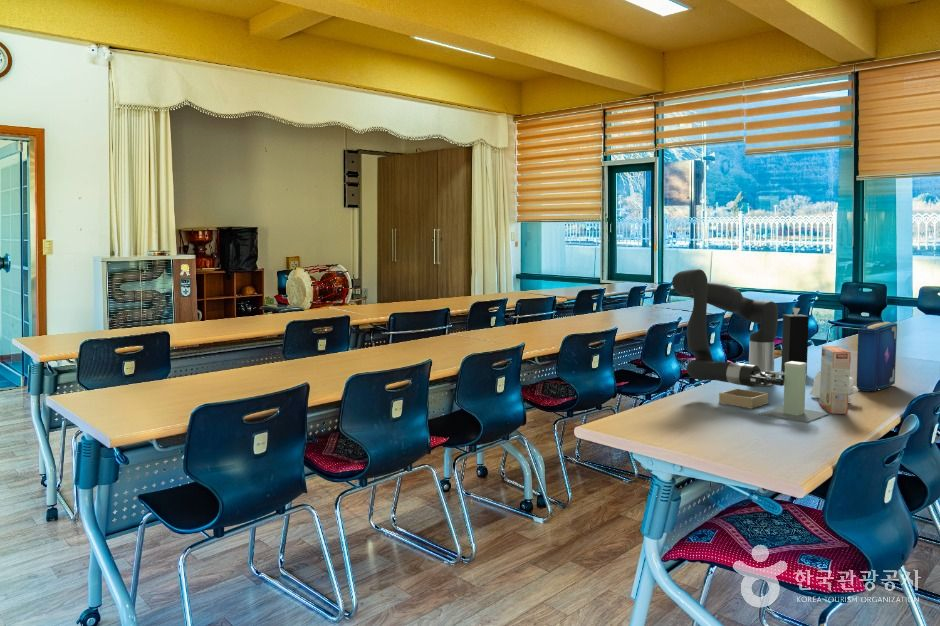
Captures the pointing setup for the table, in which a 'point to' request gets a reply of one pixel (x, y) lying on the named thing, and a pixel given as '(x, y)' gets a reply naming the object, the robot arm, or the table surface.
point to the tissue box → (794, 338)
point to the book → (876, 356)
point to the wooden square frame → (743, 398)
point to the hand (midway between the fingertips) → (789, 380)
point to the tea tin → (794, 388)
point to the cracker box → (835, 379)
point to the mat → (805, 417)
